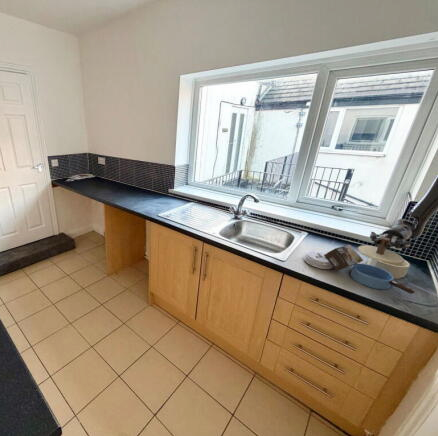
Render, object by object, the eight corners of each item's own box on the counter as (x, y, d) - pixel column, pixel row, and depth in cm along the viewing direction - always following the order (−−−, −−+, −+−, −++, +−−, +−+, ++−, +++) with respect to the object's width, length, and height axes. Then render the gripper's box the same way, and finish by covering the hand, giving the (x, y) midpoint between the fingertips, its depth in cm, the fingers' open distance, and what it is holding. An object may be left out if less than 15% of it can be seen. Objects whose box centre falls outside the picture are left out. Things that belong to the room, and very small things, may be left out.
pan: (419, 295, 100) (424, 286, 98) (401, 303, 95) (405, 294, 93) (361, 269, 118) (364, 261, 117) (343, 275, 113) (346, 266, 112)
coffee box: (338, 250, 124) (322, 254, 116) (350, 244, 120) (334, 247, 112) (351, 266, 120) (336, 271, 112) (364, 260, 115) (349, 265, 107)
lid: (338, 272, 116) (341, 263, 114) (308, 268, 118) (311, 260, 116) (326, 258, 127) (329, 250, 125) (300, 255, 130) (302, 247, 128)
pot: (410, 275, 114) (416, 263, 111) (394, 281, 109) (399, 269, 107) (376, 261, 125) (380, 250, 123) (359, 266, 121) (364, 255, 118)
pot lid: (409, 260, 102) (417, 243, 99) (389, 267, 97) (397, 249, 94) (369, 245, 115) (375, 229, 112) (349, 250, 109) (355, 234, 107)
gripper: (378, 223, 115) (363, 230, 106) (420, 233, 104) (407, 242, 95) (373, 237, 117) (358, 245, 109) (413, 249, 106) (400, 259, 98)
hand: (381, 244), depth 102 cm, fingers closed on pot lid, 3 cm apart
